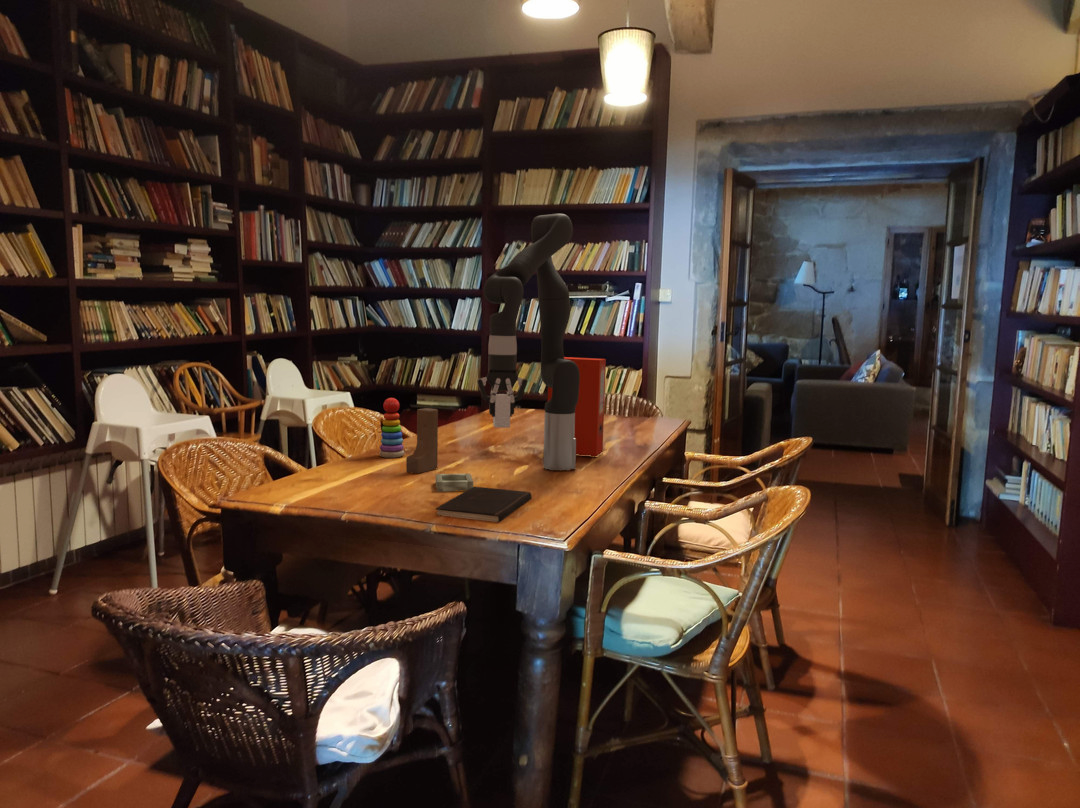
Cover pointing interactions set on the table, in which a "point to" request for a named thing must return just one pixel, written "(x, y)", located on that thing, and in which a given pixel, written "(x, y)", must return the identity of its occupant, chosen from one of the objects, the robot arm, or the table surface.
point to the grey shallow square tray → (453, 482)
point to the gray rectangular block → (502, 411)
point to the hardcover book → (484, 504)
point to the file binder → (589, 405)
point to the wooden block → (425, 442)
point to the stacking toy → (391, 431)
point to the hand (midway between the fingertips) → (501, 416)
